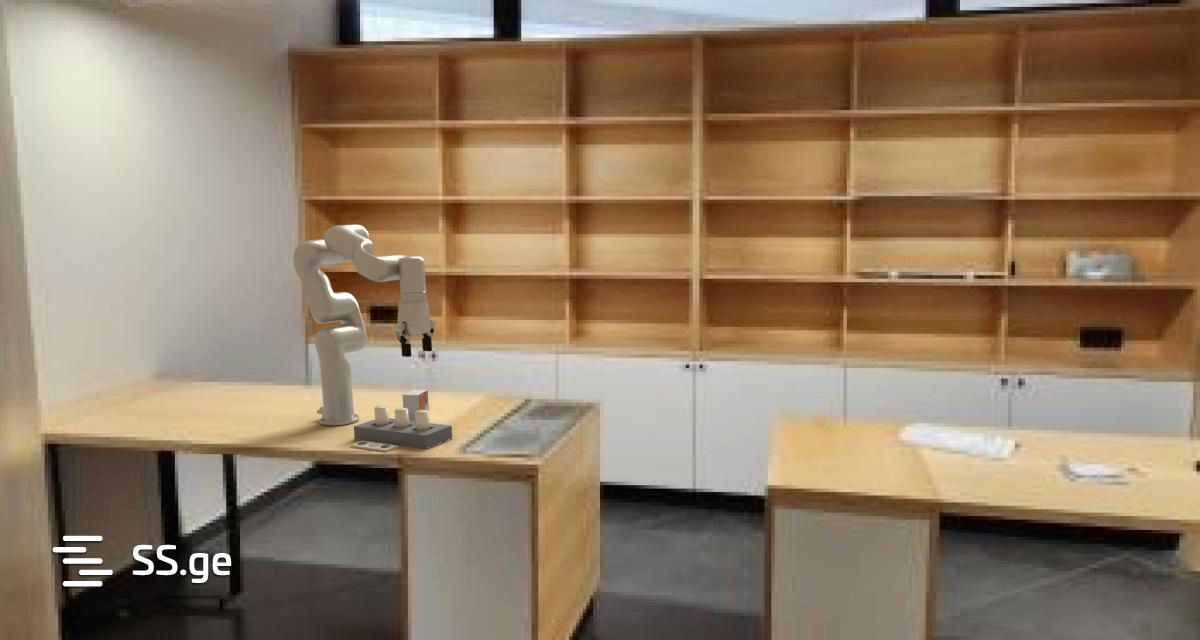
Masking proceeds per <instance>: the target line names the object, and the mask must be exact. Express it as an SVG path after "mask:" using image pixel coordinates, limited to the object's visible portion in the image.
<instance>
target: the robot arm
mask: <svg viewBox="0 0 1200 640" xmlns="http://www.w3.org/2000/svg"><path fill="white" fill-rule="evenodd" d="M374 245H375V244H374V243H373V241H372V240H370V234H369V232H368V230H367V229H366V228H365V227H364V226H363V225H361V224H355V223H354V224H339V225H334V226H330V227H329V228H328V229H327V230H326V231H325V233H324V235H323V238H322V239H310V240H306V241H303V242H301V243H299V244H298V245H297V246H296V247H295V249H294V252H293V255H292V256H293V257H292V258H293V267H294V270H295V272H296V274H297V277H298V278H299V281H300V283H301V285H302V287H303V288H302V289H303V291H304V294H305V297H306V298H305V299H306V301H307V305H308V307H309V311H310V314H311V317H312V319H313V320H314V322H315V323H317V324H321V325H322V324H330V323H338V322H340V324H337V325H331V326H327V327H324V328H322V329H320V330H319V331H317V333H316V334H315V336H314V337H315V338H314V345H315V349H316V353H317V356H318V361H319V362H318V363H319V369H320V377H321V380H320V381H321V393H322V403H323V404H322V405H323V406H320V407H319V408H318V409H317V410H316V414H319V415H321V418H320V419H319V424H320V425H322V426H328V427H330V426H333V427H334V426H335V427H336V426H344V425H349V424H353V423H357V422H358V421H359V420H360V416H359V414H357V413H355V408H354V398H353V397H354V396H353V383H352V382H353V380H352V369H351V368H352V367H351V365H350V363H349V361H348V359H347V358H346V356H345V354H349V353H353V352H357V351H360V350H363V349H364V348H365V347H366V346H367V342H368V333H367V329H366V327H365V326H366V325H365V324H364V323H365V321H364V319H363V316H362V313H361V309H360V306H359V303H358V301H357V299H356V298H355V297H354V295H352V293H349V292H347V291H340V292H334V290H333V288H332V285H331V281H330V279H329V277H328V276H327V275H326V273H325V272H324V271H323V270H321V268H320V266H330V265H339V264H344V263H346V262H347V261H349V260H350V261H351V262H352V263H353V267H354V268H355V270H356V272H357V273H358V274H360V275H361V276H363V277H364V278H366V279H369V280H370V281H373V282H376V283H382V282H383V283H384V282H390V281H399V289H400V301H401V302H400V303H399V308H398V327H397V328H396V329H395V330H394V332H395V335H396V338H397V340H398V341H399V344H400V348H401V356H402V357H403V358H410V357H412V345H411V343H410V342H411V339H412V337H416V336H421V335H422V338H421V344H422V351H423V352H432V351H433V344H432V343H433V342H432V338H433V336H434V335H433V334H434V331H435V326H436V322H434V321H433V320H432V319H431V315H430V309H429V302H428V300H427V299H428V298H427V284H426V269H425V266H426V265H425V264H426V263H425V259H424V258H423V257H422V256H420V255H412V256H411V255H410V256H409V255H405V254H396V255H393V254H392V255H384V256H375V255H374V251H375V246H374Z"/></svg>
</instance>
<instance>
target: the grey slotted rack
mask: <svg viewBox="0 0 1200 640" xmlns="http://www.w3.org/2000/svg"><path fill="white" fill-rule="evenodd" d="M353 435H354V436H353V437H354V440H358V441H369V442H376V443H383V444H391V445H394V444H396V445H398V446H401V445H403V446H402V447H409V446H412V447H411V448H416V447H421V448H420V449H423V448H428V447H430V448H432V447H431V446H433V445H435V444H438V443H440V442H443V441H445V442H447V441H446V440H448V439H450V440H452V439H453V426H452V425H449V424H448V425H447V424H441V423H431V422H430V429H429V430H427V431H417V430H416V421H409V427H407V428H404V429H401V428H396V425H395V418H390V417H389V424H388V425H385V426H376V423H375V419H373V420H369V421H366V422H363V423H360V424H357V425H354V426H353ZM451 438H452V439H451ZM448 441H449V440H448ZM443 443H444V442H443ZM440 444H441V443H440ZM438 445H439V444H438ZM435 446H436V445H435ZM433 447H434V446H433ZM428 449H429V448H428Z"/></svg>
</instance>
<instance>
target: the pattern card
mask: <svg viewBox="0 0 1200 640" xmlns="http://www.w3.org/2000/svg"><path fill="white" fill-rule="evenodd" d="M349 446H350V448H357V449H365V450H370V451H376V450H379V451H378V452H383V451H388V452H390V451H392V450H391V449H393V450H395V449H397V447H398V448H399V445H394V444H386V443H379V442H372V441H364V440H359V441H357V442H354V443H352V444H349ZM394 448H395V449H394ZM389 450H390V451H389Z"/></svg>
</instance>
